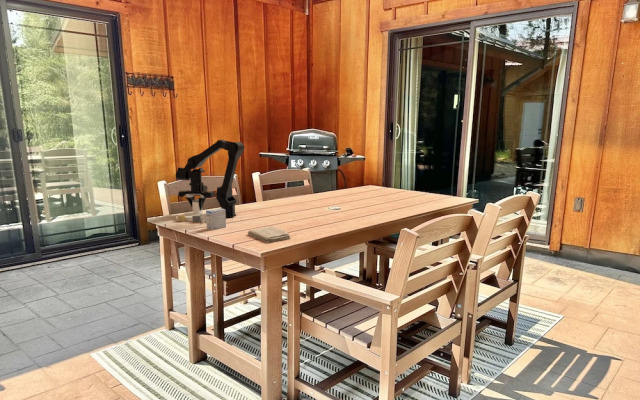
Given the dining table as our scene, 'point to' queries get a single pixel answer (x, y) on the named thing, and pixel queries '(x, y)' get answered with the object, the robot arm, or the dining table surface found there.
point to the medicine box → (216, 218)
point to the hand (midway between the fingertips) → (197, 209)
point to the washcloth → (269, 234)
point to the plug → (196, 206)
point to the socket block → (192, 217)
